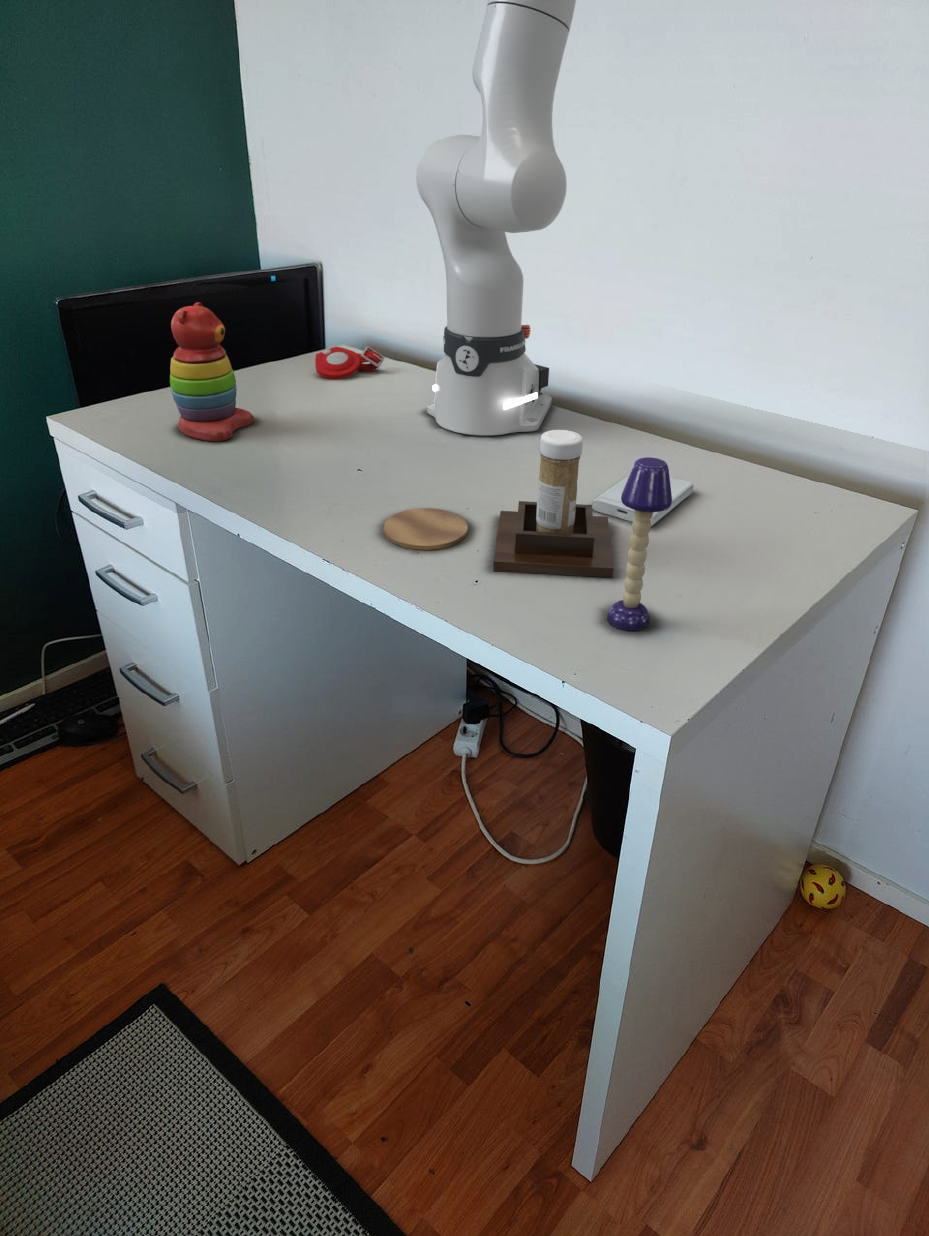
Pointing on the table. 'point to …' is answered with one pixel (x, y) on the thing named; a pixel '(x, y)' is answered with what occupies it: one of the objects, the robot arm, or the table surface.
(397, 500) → the table surface
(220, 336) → the stacking bear
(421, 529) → the coaster
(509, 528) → the holder
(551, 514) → the sprinkles bottle
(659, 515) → the hard drive
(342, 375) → the red tape dispenser
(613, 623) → the toy lamp
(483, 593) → the table surface
